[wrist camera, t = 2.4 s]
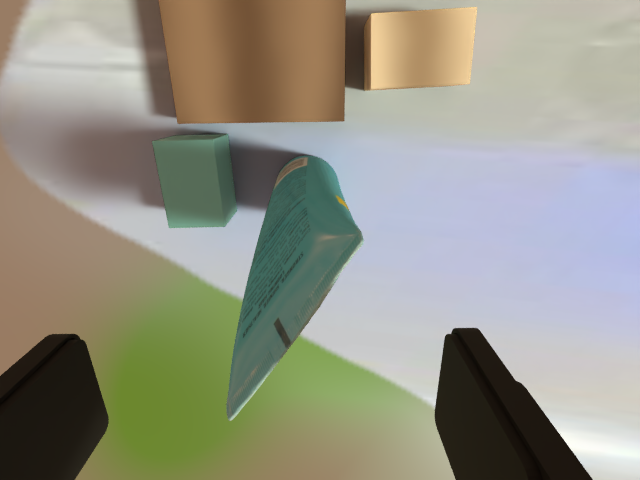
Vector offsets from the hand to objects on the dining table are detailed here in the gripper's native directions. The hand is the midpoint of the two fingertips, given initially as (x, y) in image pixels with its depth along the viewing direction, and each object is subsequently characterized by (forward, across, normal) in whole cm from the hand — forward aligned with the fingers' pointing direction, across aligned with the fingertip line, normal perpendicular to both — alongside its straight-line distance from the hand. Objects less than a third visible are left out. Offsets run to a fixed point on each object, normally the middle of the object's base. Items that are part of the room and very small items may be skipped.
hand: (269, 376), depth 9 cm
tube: (+20, -1, -1) cm, 20 cm away
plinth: (+20, +2, -11) cm, 23 cm away
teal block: (+20, +7, -2) cm, 22 cm away
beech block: (+20, -8, -10) cm, 24 cm away
